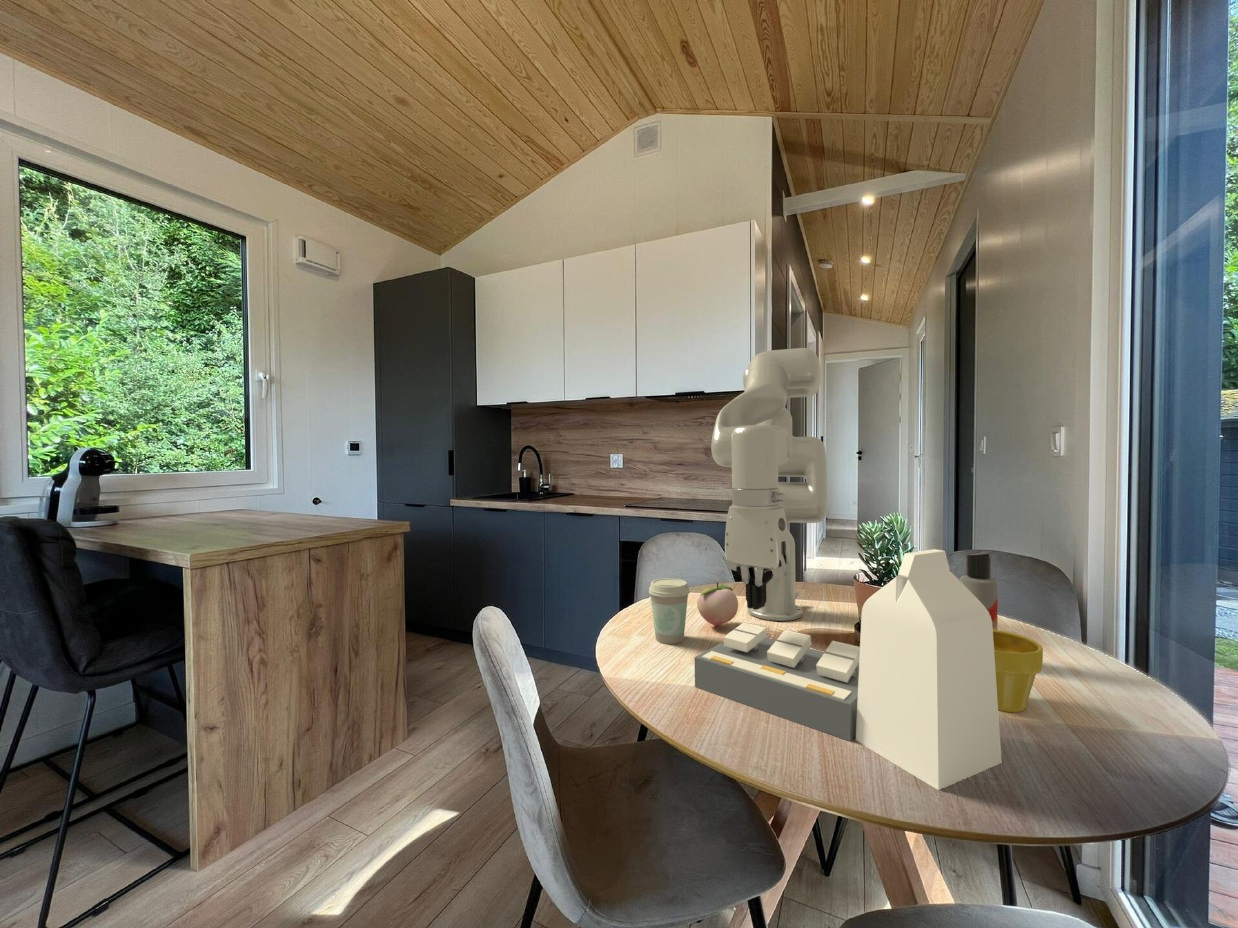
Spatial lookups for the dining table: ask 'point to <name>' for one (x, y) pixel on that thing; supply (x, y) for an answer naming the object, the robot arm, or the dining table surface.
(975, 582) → the lotion bottle
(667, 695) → the dining table surface
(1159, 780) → the dining table surface
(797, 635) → the rocker
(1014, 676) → the plant pot
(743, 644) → the rocker
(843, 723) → the switch unit
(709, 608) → the decorative fruit
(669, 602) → the coffee cup
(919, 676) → the milk
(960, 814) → the dining table surface
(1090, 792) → the dining table surface
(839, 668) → the rocker
